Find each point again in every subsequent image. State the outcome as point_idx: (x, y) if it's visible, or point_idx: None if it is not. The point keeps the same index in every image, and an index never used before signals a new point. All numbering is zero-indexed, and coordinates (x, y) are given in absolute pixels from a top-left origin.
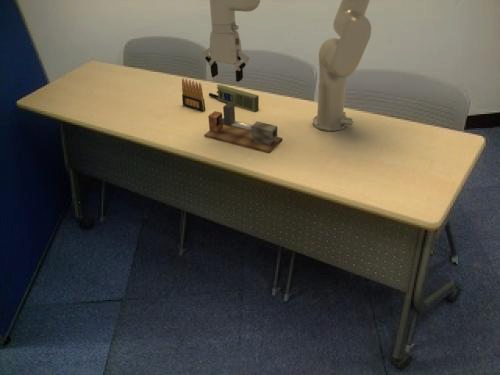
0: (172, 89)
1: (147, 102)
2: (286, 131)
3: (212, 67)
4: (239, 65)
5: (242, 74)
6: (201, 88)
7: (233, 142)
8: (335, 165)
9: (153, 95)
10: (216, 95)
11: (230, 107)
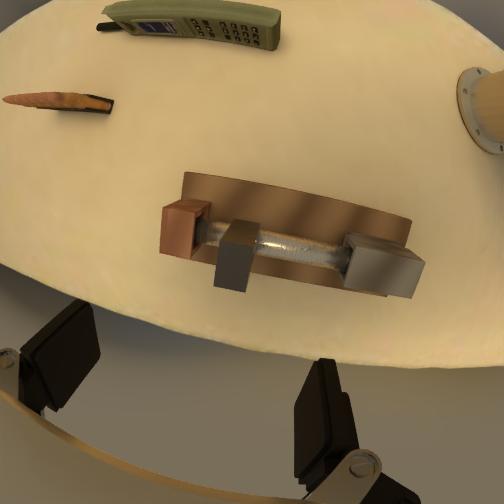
0: (26, 59)
1: (6, 139)
2: (411, 162)
3: (61, 405)
4: (326, 482)
5: (349, 416)
6: (60, 97)
7: (277, 276)
8: (493, 294)
9: (6, 106)
10: (118, 24)
11: (247, 279)
